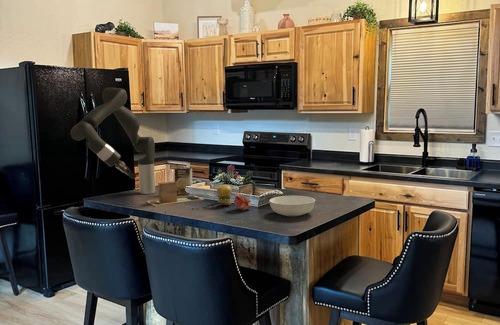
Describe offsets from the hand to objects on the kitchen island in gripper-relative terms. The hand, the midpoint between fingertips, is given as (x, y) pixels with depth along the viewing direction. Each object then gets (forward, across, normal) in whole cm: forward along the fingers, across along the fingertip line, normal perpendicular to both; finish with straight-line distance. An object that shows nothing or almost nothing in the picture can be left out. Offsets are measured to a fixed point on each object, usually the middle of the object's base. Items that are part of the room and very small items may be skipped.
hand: (134, 177), depth 224 cm
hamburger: (+39, -20, -17) cm, 47 cm away
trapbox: (+26, 0, -4) cm, 26 cm away
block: (+22, 0, -2) cm, 22 cm away
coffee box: (+35, +18, -13) cm, 41 cm away
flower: (+41, -33, -19) cm, 56 cm away
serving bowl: (+51, -54, -29) cm, 80 cm away
